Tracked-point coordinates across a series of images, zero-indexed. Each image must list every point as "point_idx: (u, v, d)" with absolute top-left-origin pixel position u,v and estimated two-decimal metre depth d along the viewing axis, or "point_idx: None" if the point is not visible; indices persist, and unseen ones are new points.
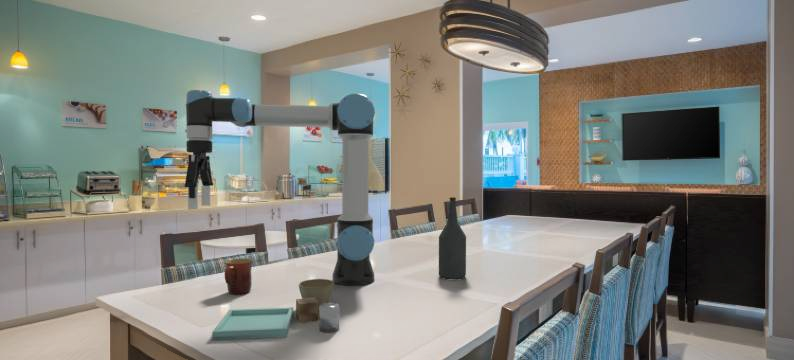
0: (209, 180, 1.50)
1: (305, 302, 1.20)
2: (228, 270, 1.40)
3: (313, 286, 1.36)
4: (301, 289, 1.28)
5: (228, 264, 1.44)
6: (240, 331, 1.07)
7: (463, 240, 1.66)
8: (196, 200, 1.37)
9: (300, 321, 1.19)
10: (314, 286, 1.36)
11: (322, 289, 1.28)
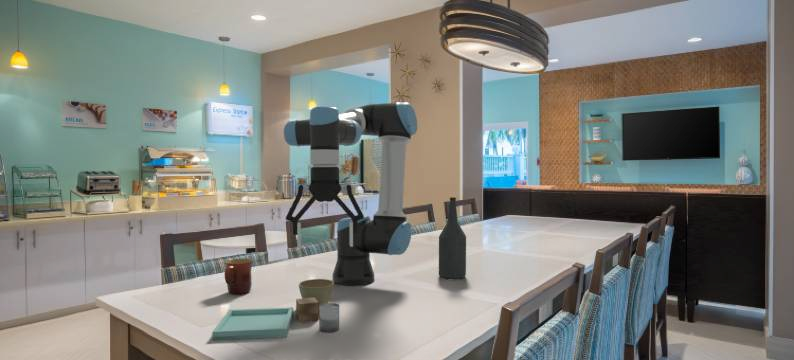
0: (350, 215, 1.20)
1: (305, 302, 1.20)
2: (228, 270, 1.40)
3: (313, 286, 1.36)
4: (301, 289, 1.28)
5: (228, 264, 1.44)
6: (240, 331, 1.07)
7: (463, 240, 1.66)
8: None
9: (300, 321, 1.19)
10: (314, 286, 1.36)
11: (322, 289, 1.28)
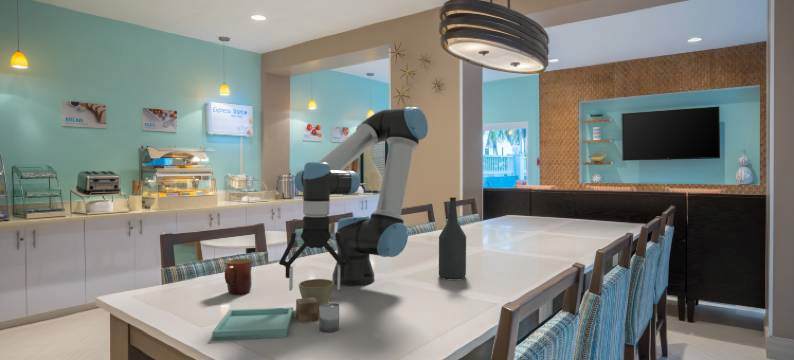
0: (338, 260, 1.31)
1: (305, 302, 1.20)
2: (228, 270, 1.40)
3: (313, 286, 1.36)
4: (301, 289, 1.28)
5: (228, 264, 1.44)
6: (240, 331, 1.07)
7: (463, 240, 1.66)
8: None
9: (300, 321, 1.19)
10: (314, 286, 1.36)
11: (322, 289, 1.28)
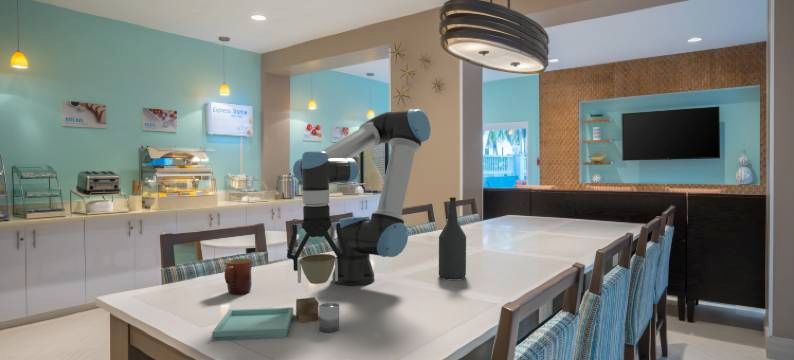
0: (336, 251, 1.31)
1: (305, 302, 1.20)
2: (228, 270, 1.40)
3: (315, 261, 1.36)
4: (303, 263, 1.29)
5: (228, 264, 1.44)
6: (240, 331, 1.07)
7: (463, 240, 1.66)
8: None
9: (300, 321, 1.19)
10: (316, 261, 1.36)
11: (323, 263, 1.28)
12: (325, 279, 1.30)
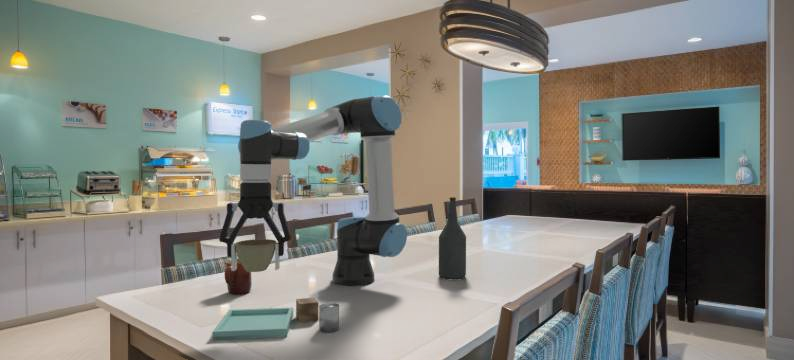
0: (277, 236, 1.15)
1: (305, 302, 1.20)
2: (228, 270, 1.40)
3: None
4: (237, 248, 1.12)
5: (228, 264, 1.44)
6: (240, 331, 1.07)
7: (463, 240, 1.66)
8: None
9: (300, 321, 1.19)
10: None
11: (260, 248, 1.11)
12: (263, 267, 1.13)
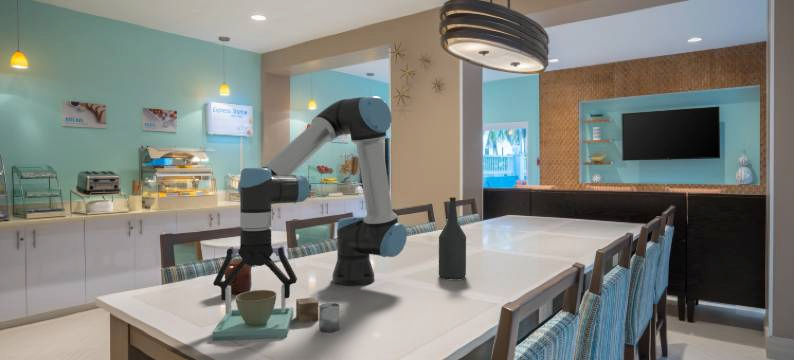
0: (282, 279, 1.15)
1: (305, 302, 1.20)
2: (228, 270, 1.40)
3: (255, 298, 1.20)
4: (237, 303, 1.12)
5: None
6: (240, 331, 1.07)
7: (463, 240, 1.66)
8: None
9: (300, 321, 1.19)
10: (256, 298, 1.20)
11: (261, 302, 1.11)
12: (263, 320, 1.14)
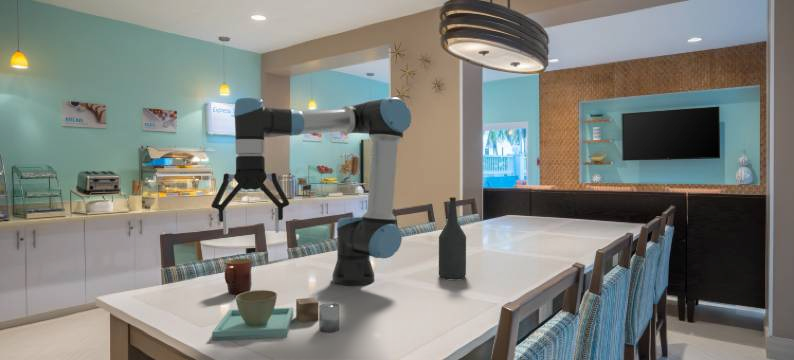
0: (275, 202, 1.24)
1: (305, 302, 1.20)
2: (228, 270, 1.40)
3: (255, 298, 1.20)
4: (237, 303, 1.12)
5: (228, 264, 1.44)
6: (240, 331, 1.07)
7: (463, 240, 1.66)
8: None
9: (300, 321, 1.19)
10: (256, 298, 1.20)
11: (261, 303, 1.11)
12: (263, 321, 1.14)
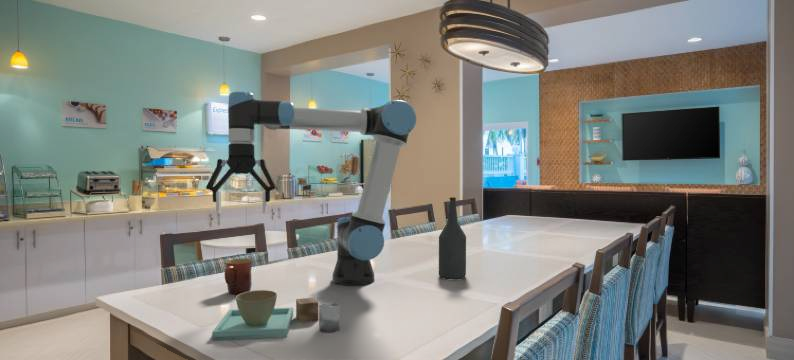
0: (263, 185, 1.39)
1: (305, 302, 1.20)
2: (228, 270, 1.40)
3: (255, 298, 1.20)
4: (237, 303, 1.12)
5: (228, 264, 1.44)
6: (240, 331, 1.07)
7: (463, 240, 1.66)
8: None
9: (300, 321, 1.19)
10: (256, 298, 1.20)
11: (261, 303, 1.11)
12: (263, 321, 1.14)
